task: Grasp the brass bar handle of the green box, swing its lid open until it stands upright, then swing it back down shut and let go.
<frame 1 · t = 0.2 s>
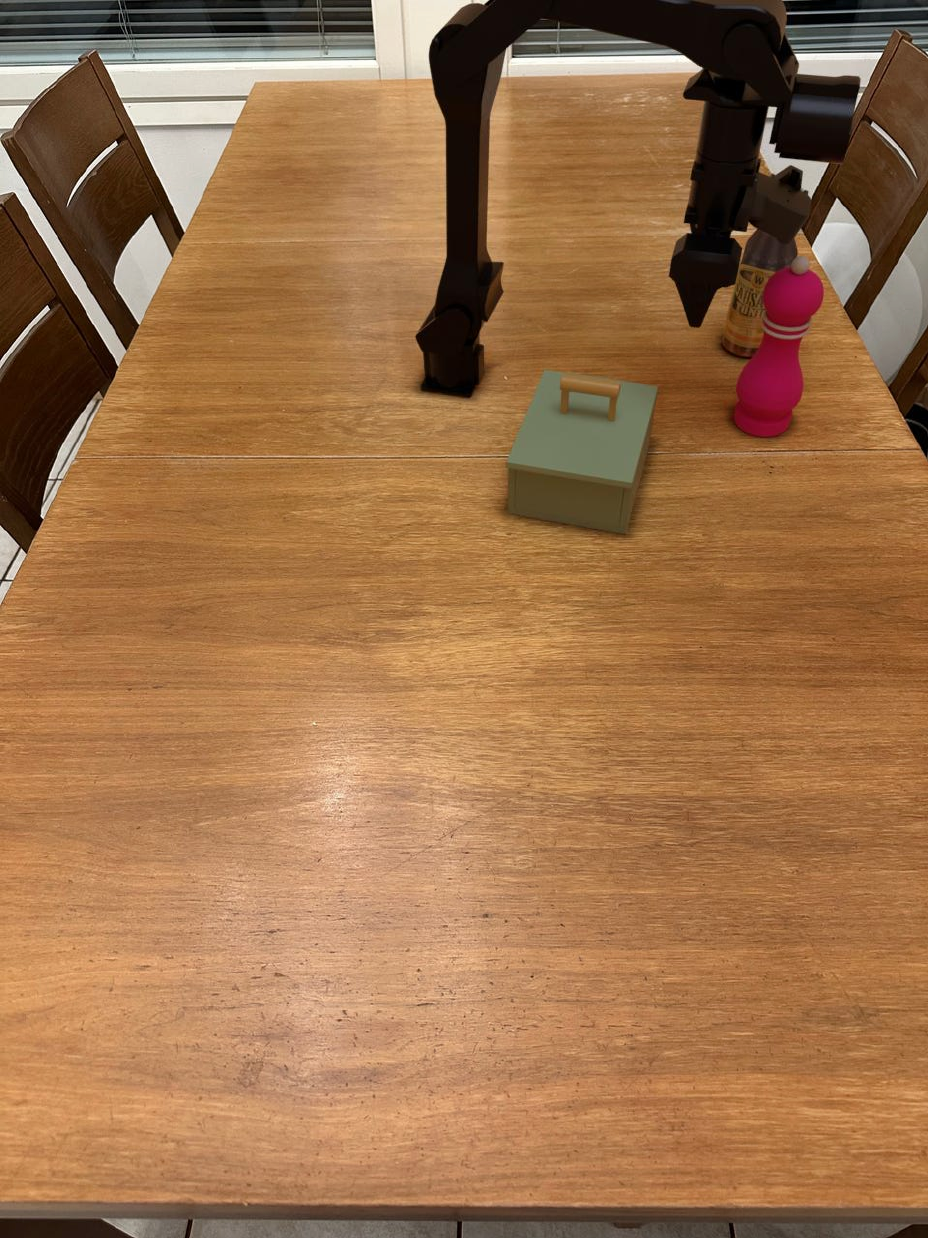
hand: (700, 303, 99), 14 cm above the table, tool pointing down, fingers open, 9 cm apart
sauce bottle: (746, 348, 119), on the table
pepper mill: (760, 422, 109), on the table
green box: (581, 477, 104), on the table
lid: (586, 407, 96), point 9 cm above the table, hinge at 0.0°
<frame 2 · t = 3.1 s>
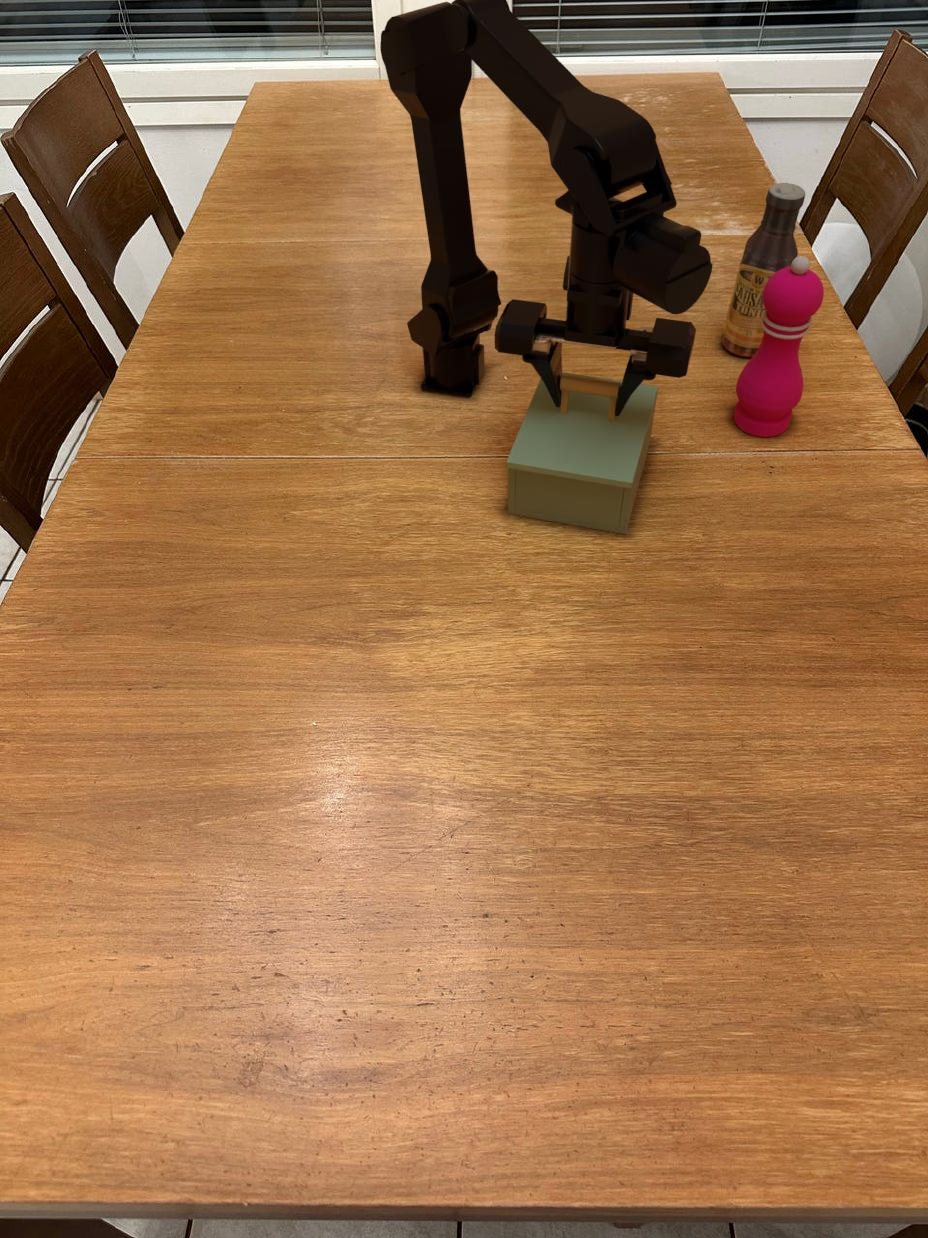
hand: (588, 409, 98), 8 cm above the table, tool pointing down, fingers closed on lid, 6 cm apart
lid: (586, 407, 96), point 9 cm above the table, hinge at 0.0°, touching gripper
everything else where it was.
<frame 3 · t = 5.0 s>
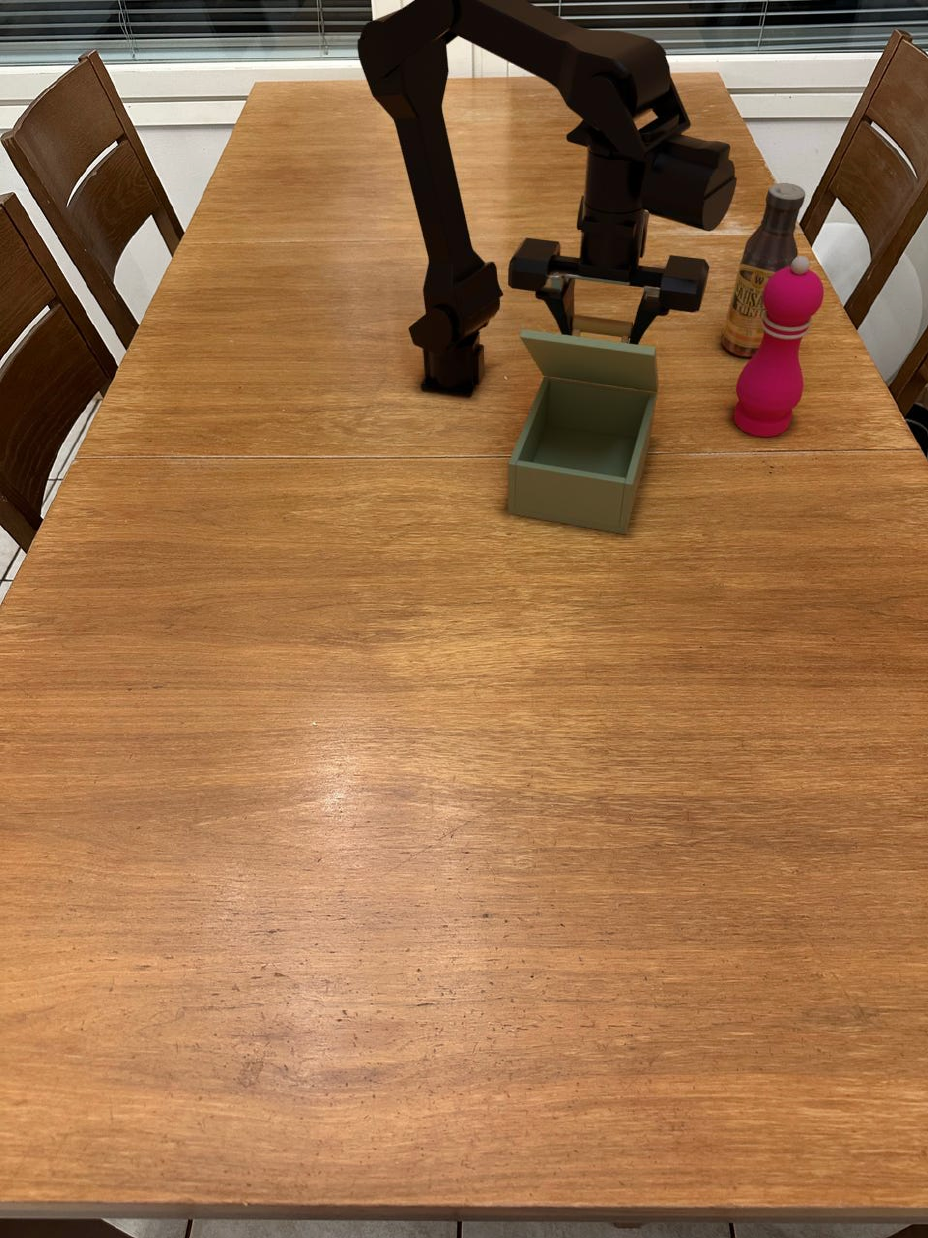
hand: (600, 351, 98), 12 cm above the table, tool pointing down, fingers closed on lid, 6 cm apart
lid: (598, 341, 95), point 15 cm above the table, hinge at 46.0°, touching gripper
everything else where it was.
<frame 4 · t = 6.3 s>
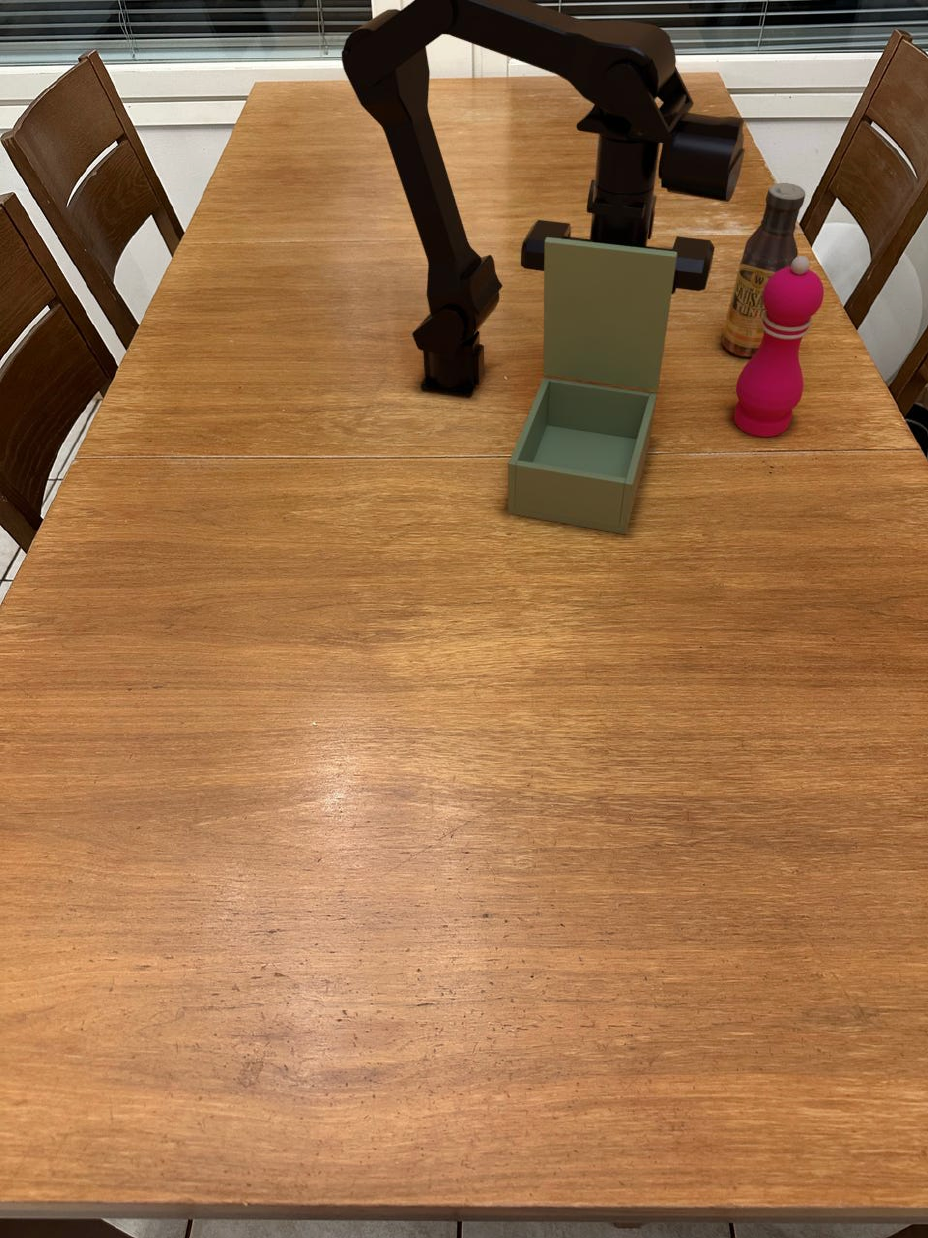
hand: (608, 330, 102), 12 cm above the table, tool pointing down, fingers closed on lid, 6 cm apart
lid: (609, 304, 98), point 16 cm above the table, hinge at 83.2°, touching gripper
everything else where it was.
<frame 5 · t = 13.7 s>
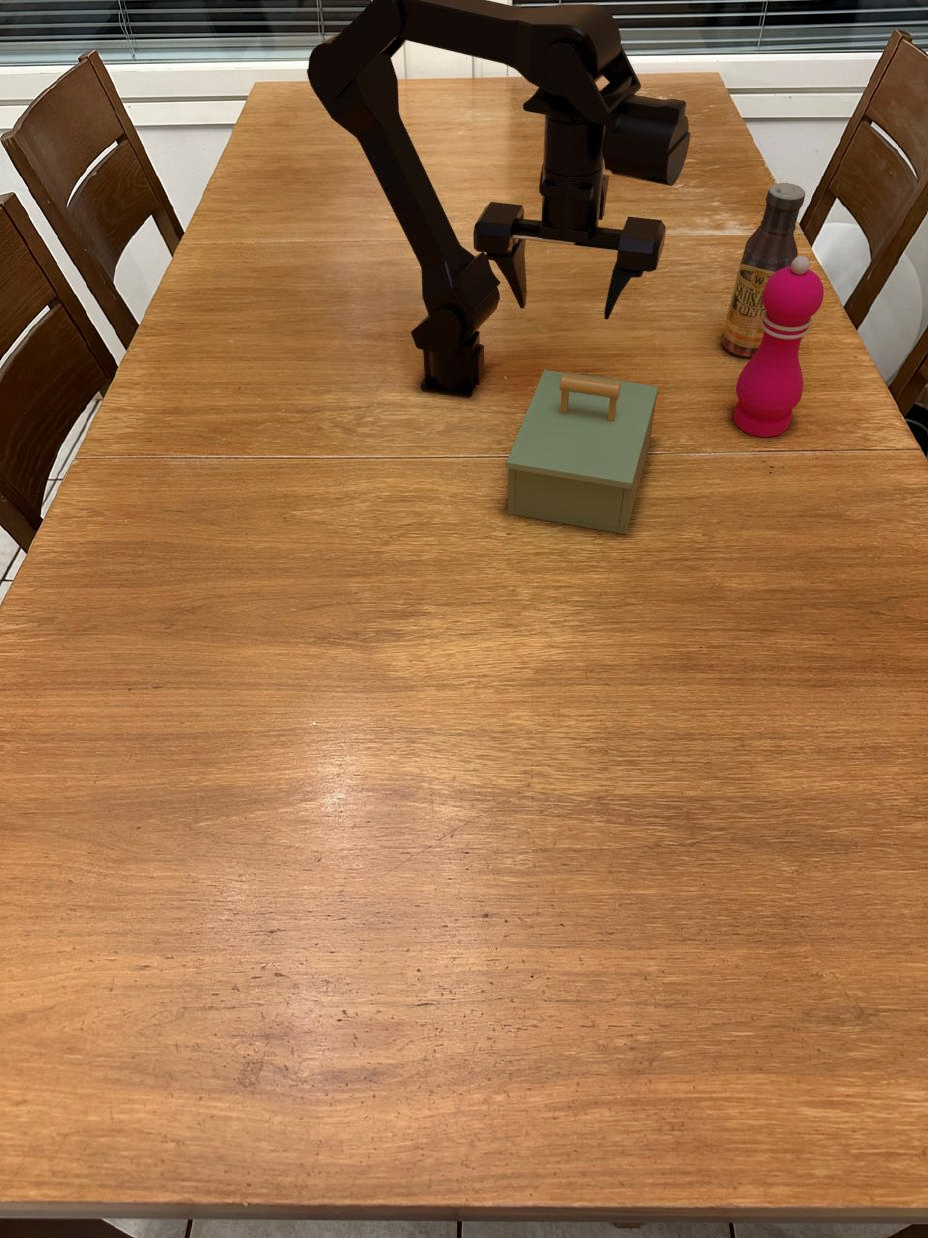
hand: (564, 311, 102), 13 cm above the table, tool pointing down, fingers open, 9 cm apart
lid: (586, 408, 96), point 9 cm above the table, hinge at -0.2°, touching green box
everything else where it was.
at the end: lid reached +83° during the clip, +0° at the end; lid at +0° (first picture: +0°); the gripper is holding nothing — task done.
